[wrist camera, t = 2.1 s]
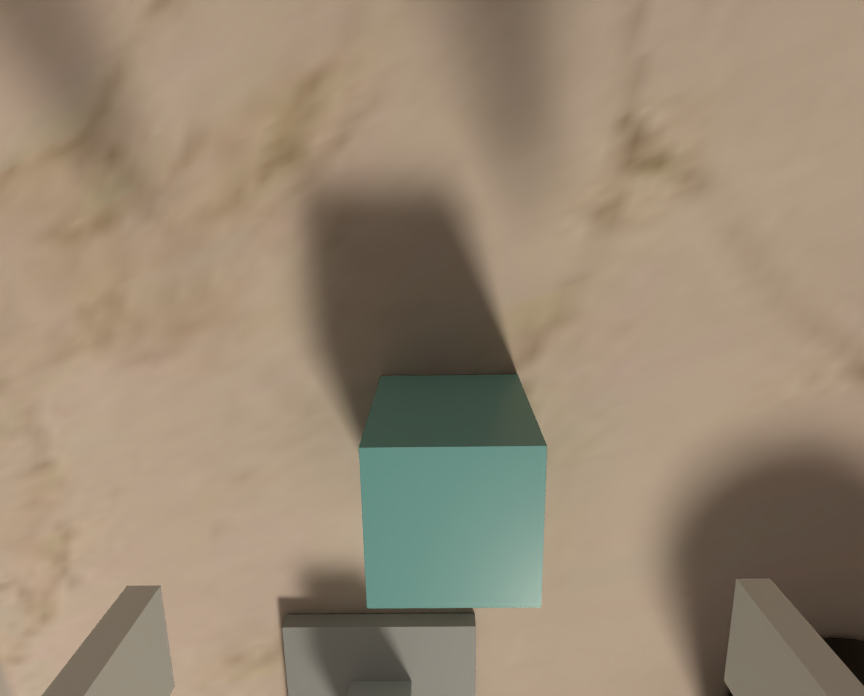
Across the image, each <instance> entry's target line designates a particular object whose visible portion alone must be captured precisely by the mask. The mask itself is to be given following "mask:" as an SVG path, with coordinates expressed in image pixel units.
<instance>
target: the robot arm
mask: <svg viewBox="0 0 864 696" xmlns="http://www.w3.org/2000/svg"><path fill="white" fill-rule="evenodd" d="M724 681H725V683H726V685H727V686H728V688H729V690H730V691H731V693H732V695H733V696H864V686H863V685H862V683H861V682H860V681H859V680H858V679H857V678H856V677H855V675H854V674H853V673H852V672H851V671H850V670H849V668H848V667H847V666H846V665H845V664H844V663H843V662H842V660H841V659H840V658H839V657H838V656H837V655H836V654H835V652H834V651H833V650H832V649H831V648H830V647H829V646H828V644H827V643H826V642H825V641H824V640H823V639H822V637H821V636H820V635H819V634H818V633H817V632H816V631H815V629H814V628H813V627H812V626H811V625H810V624H809V623H808V621H807V620H806V619H805V618H804V617H803V616H802V615H801V613H800V612H799V611H798V610H797V609H796V608H795V606H794V605H793V604H792V603H791V602H790V601H789V600H788V598H787V597H786V596H785V595H784V594H783V593H782V592H781V590H780V589H779V588H778V587H777V586H776V585H775V584H774V582H773V581H772V580H771V579H770V578H754V579H736V584H735V593H734V601H733V609H732V617H731V626H730V634H729V642H728V650H727V659H726V667H725V675H724ZM174 687H175V685H174V677H173V670H172V663H171V656H170V649H169V642H168V635H167V628H166V621H165V614H164V607H163V600H162V593H161V586H127V587H126V588H125V589H124V591H123V592H122V593H121V594H120V596H119V597H118V598H117V600H116V601H115V602H114V603H113V605H112V606H111V607H110V609H109V610H108V611H107V612H106V614H105V615H104V616H103V618H102V619H101V620H100V621H99V623H98V624H97V625H96V627H95V628H94V629H93V630H92V632H91V633H90V634H89V636H88V637H87V638H86V639H85V641H84V642H83V643H82V645H81V646H80V647H79V648H78V650H77V651H76V652H75V654H74V655H73V656H72V657H71V659H70V660H69V661H68V663H67V664H66V665H65V666H64V668H63V669H62V670H61V672H60V673H59V674H58V675H57V677H56V678H55V679H54V681H53V682H52V683H51V684H50V686H49V687H48V688H47V690H46V691H45V692H44V694H43V695H42V696H170V694H171V692H172V690H173V688H174Z"/></svg>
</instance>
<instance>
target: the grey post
mask: <svg viewBox="0 0 864 696" xmlns="http://www.w3.org/2000/svg"><path fill="white" fill-rule="evenodd" d="M282 632H283V643H284V654H285V665H286V676H287V687H288V696H475V662H476V625H475V613H453V614H287V615H286V618H285V621H284V623H283V626H282Z"/></svg>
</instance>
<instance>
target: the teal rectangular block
mask: <svg viewBox="0 0 864 696" xmlns="http://www.w3.org/2000/svg"><path fill="white" fill-rule="evenodd" d="M546 459H547V445H546V442H545V440H544V438H543V435H542V433H541V430H540V428H539V425H538V423H537V421H536V418H535V416H534V413H533V411H532V408H531V406H530V404H529V401H528V399H527V396H526V394H525V391H524V389H523V387H522V384H521V382H520V379H519V377H518V374H502V375H413V376H380V380H379V383H378V386H377V390H376V393H375V396H374V400H373V403H372V406H371V409H370V413H369V416H368V419H367V423H366V426H365V429H364V433H363V436H362V439H361V442H360V446H359V460H360V480H361V500H362V520H363V540H364V560H365V581H366V601H367V608H531V607H541V599H542V571H543V543H544V515H545V487H546Z"/></svg>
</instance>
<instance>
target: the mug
mask: <svg viewBox="0 0 864 696" xmlns="http://www.w3.org/2000/svg"><path fill="white" fill-rule="evenodd" d="M823 640H824V641H825V642H826V643H827V644H828V646H829V647H830V648H831V649H832V650H833V651H834V652H835V654H836V655H837V656H838V657H839V658H840V659H841V660H842V662H843V663H844V664H845V665H846V666H847V667H848V668H849V670H850V671H851V672H852V673H853V674H854V675H855V677H856V678H857V679H858V680H859V681H860V682H861V683H862V685H863V686H864V641H859V640H853V639H837V638H833V639H823ZM729 696H733V695H732V693H731V692H730V694H729Z"/></svg>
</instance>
